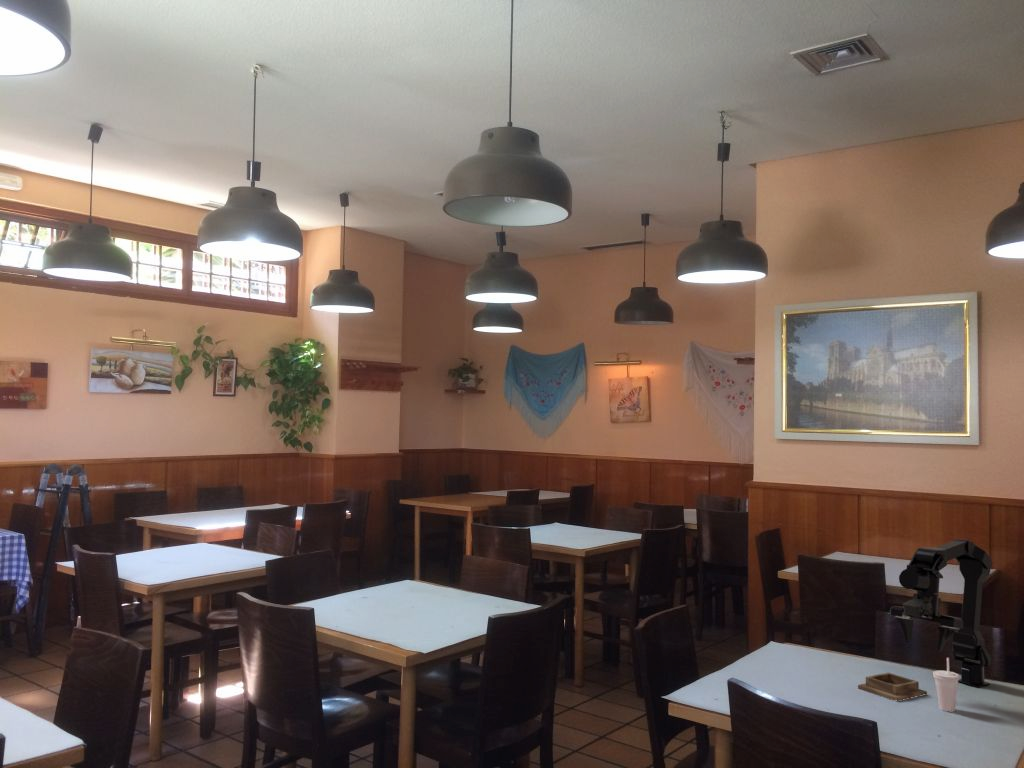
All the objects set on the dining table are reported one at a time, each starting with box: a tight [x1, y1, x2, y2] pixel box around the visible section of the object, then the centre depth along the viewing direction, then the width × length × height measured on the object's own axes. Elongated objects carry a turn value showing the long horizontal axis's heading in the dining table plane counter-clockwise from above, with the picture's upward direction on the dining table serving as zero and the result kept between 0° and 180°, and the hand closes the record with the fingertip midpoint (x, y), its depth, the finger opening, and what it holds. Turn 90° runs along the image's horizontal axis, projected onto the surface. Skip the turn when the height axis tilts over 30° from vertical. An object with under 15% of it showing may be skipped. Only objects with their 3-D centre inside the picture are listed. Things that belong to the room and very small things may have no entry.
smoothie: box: [932, 657, 960, 713], centre depth 216 cm, size 6×6×14 cm
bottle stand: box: [857, 672, 928, 702], centre depth 230 cm, size 13×13×4 cm
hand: (923, 647), depth 225 cm, fingers open, 9 cm apart
